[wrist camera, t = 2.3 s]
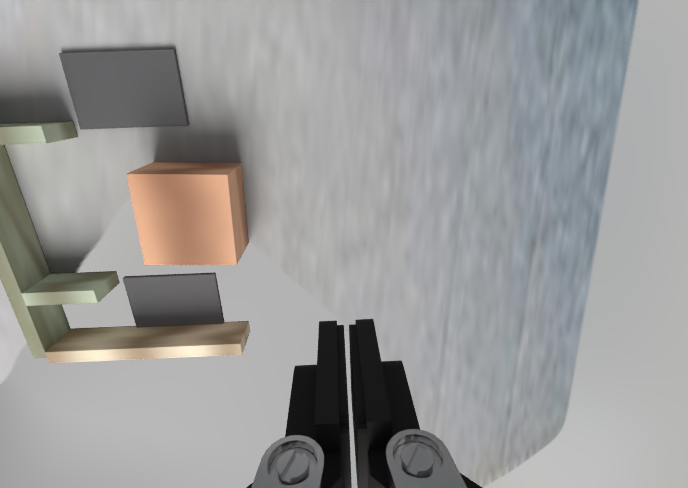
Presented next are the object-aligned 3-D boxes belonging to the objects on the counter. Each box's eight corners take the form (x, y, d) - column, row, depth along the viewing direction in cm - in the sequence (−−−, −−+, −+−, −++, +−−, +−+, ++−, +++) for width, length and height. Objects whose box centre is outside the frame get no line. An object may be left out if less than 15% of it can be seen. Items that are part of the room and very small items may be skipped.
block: (242, 162, 27) (227, 174, 23) (248, 242, 29) (236, 264, 25) (155, 161, 27) (126, 174, 23) (168, 241, 29) (144, 264, 25)
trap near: (175, 49, 24) (173, 49, 24) (188, 124, 26) (187, 125, 25) (62, 53, 24) (58, 53, 24) (83, 128, 26) (80, 129, 25)
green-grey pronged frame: (206, 39, 24) (189, 33, 21) (250, 331, 32) (242, 354, 29) (-48, 48, 24) (-99, 43, 21) (62, 339, 32) (35, 363, 29)
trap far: (215, 272, 30) (214, 274, 30) (224, 321, 32) (223, 323, 31) (124, 276, 30) (122, 278, 30) (138, 325, 31) (136, 327, 31)
